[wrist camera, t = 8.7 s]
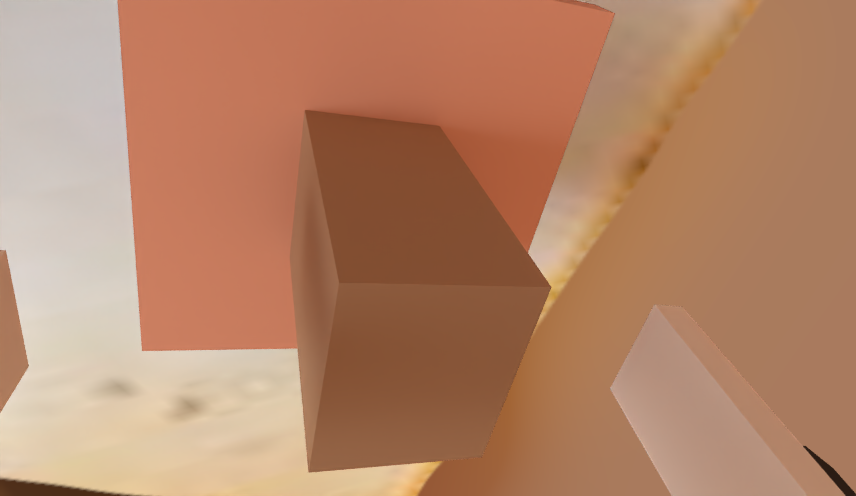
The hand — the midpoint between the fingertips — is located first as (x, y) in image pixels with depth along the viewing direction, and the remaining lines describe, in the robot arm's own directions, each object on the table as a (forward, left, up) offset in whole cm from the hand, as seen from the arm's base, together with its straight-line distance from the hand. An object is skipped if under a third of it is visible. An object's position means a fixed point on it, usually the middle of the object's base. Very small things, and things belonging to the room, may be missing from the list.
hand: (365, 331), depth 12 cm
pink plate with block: (0, 0, -8) cm, 8 cm away
